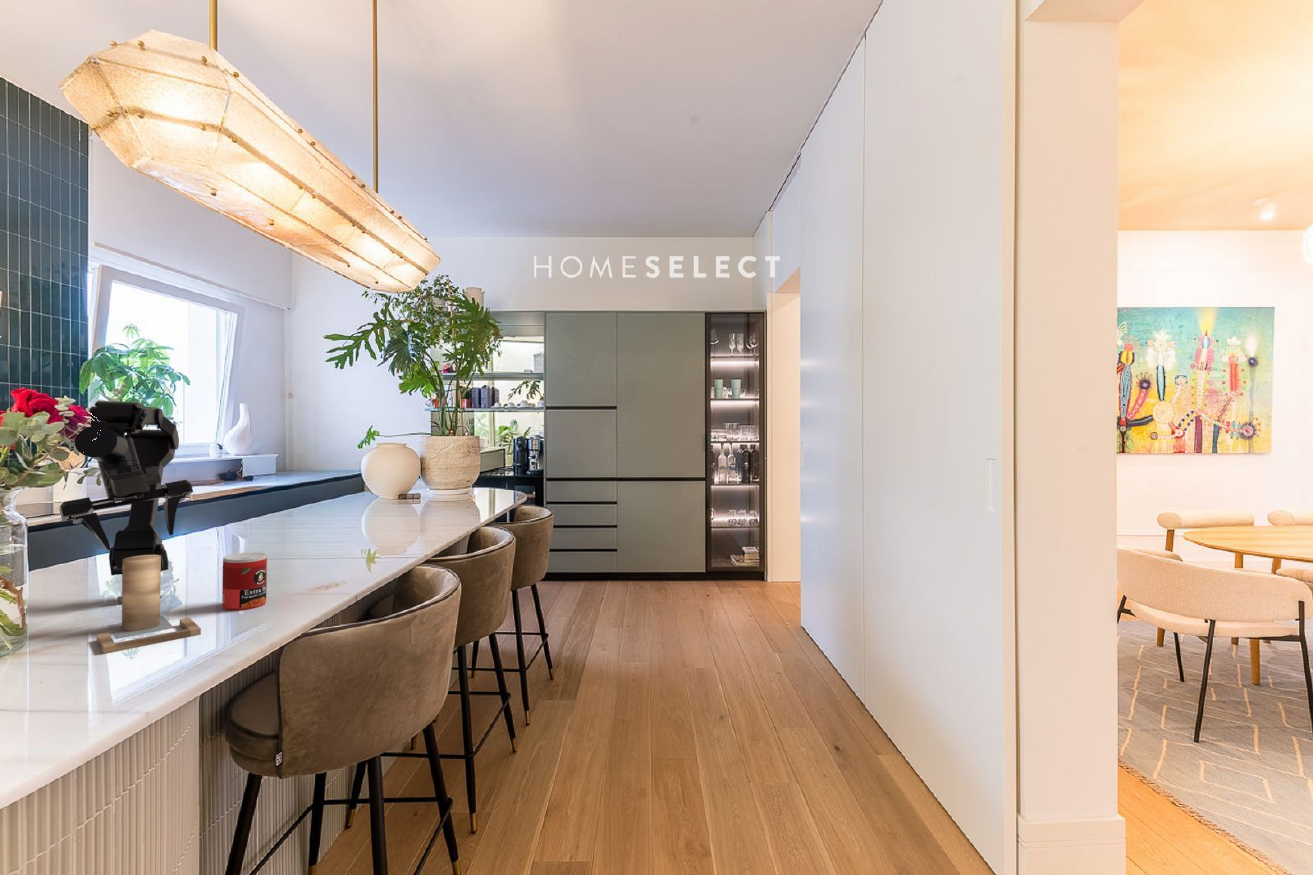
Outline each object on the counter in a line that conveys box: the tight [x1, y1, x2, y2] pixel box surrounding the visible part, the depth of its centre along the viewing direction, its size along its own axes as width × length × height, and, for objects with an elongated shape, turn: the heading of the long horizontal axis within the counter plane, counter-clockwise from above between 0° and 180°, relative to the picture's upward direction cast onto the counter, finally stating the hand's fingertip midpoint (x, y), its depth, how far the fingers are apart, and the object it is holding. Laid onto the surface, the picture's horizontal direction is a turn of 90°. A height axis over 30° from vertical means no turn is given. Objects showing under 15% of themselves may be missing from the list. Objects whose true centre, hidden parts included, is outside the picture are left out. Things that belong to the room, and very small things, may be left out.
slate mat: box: [108, 615, 175, 639], centre depth 110 cm, size 10×8×1 cm
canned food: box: [221, 551, 268, 612], centre depth 124 cm, size 8×8×11 cm
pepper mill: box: [121, 555, 162, 631], centre depth 110 cm, size 5×5×13 cm
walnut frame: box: [96, 617, 202, 655], centre depth 105 cm, size 9×13×2 cm, turn 140°
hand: (141, 542), depth 112 cm, fingers open, 9 cm apart
